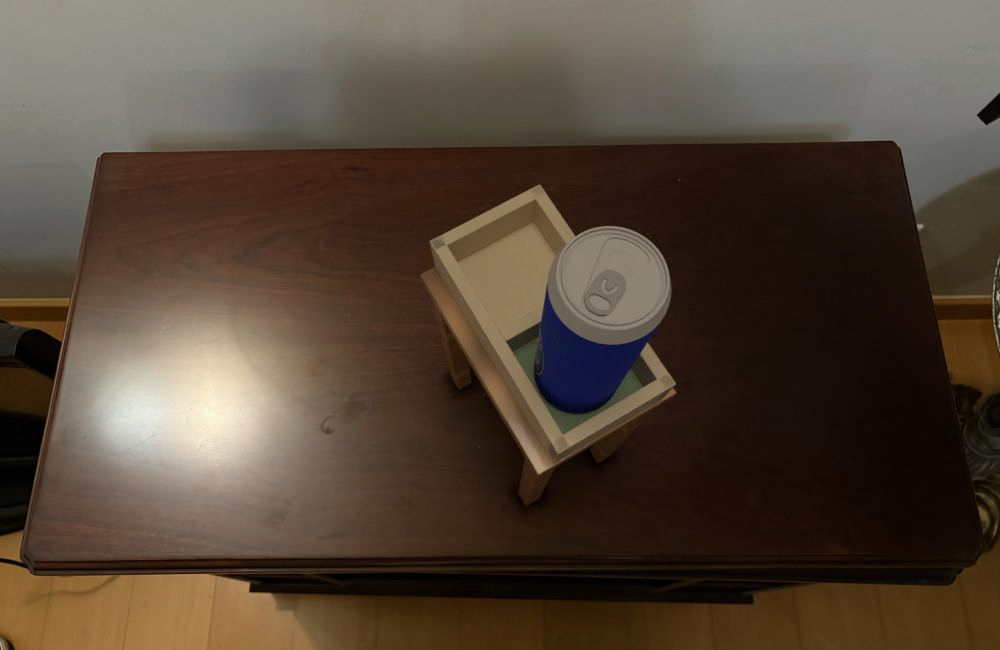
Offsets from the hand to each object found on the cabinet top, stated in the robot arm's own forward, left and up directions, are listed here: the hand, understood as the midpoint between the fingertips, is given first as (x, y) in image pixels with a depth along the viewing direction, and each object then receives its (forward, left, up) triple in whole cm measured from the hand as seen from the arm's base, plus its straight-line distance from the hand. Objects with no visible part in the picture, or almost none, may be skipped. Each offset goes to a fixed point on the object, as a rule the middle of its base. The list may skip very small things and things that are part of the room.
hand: (914, 21), depth 40 cm
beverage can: (-6, +25, -10) cm, 27 cm away
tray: (-2, +25, -11) cm, 27 cm away
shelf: (-2, +25, -37) cm, 44 cm away
